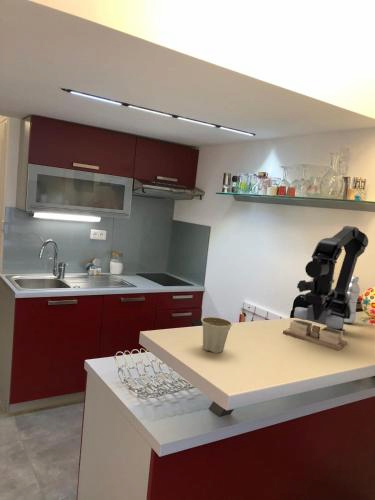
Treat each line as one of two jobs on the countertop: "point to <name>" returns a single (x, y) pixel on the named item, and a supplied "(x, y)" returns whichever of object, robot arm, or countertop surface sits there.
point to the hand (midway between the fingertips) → (317, 318)
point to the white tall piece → (353, 298)
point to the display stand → (316, 334)
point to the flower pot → (215, 333)
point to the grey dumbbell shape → (323, 319)
